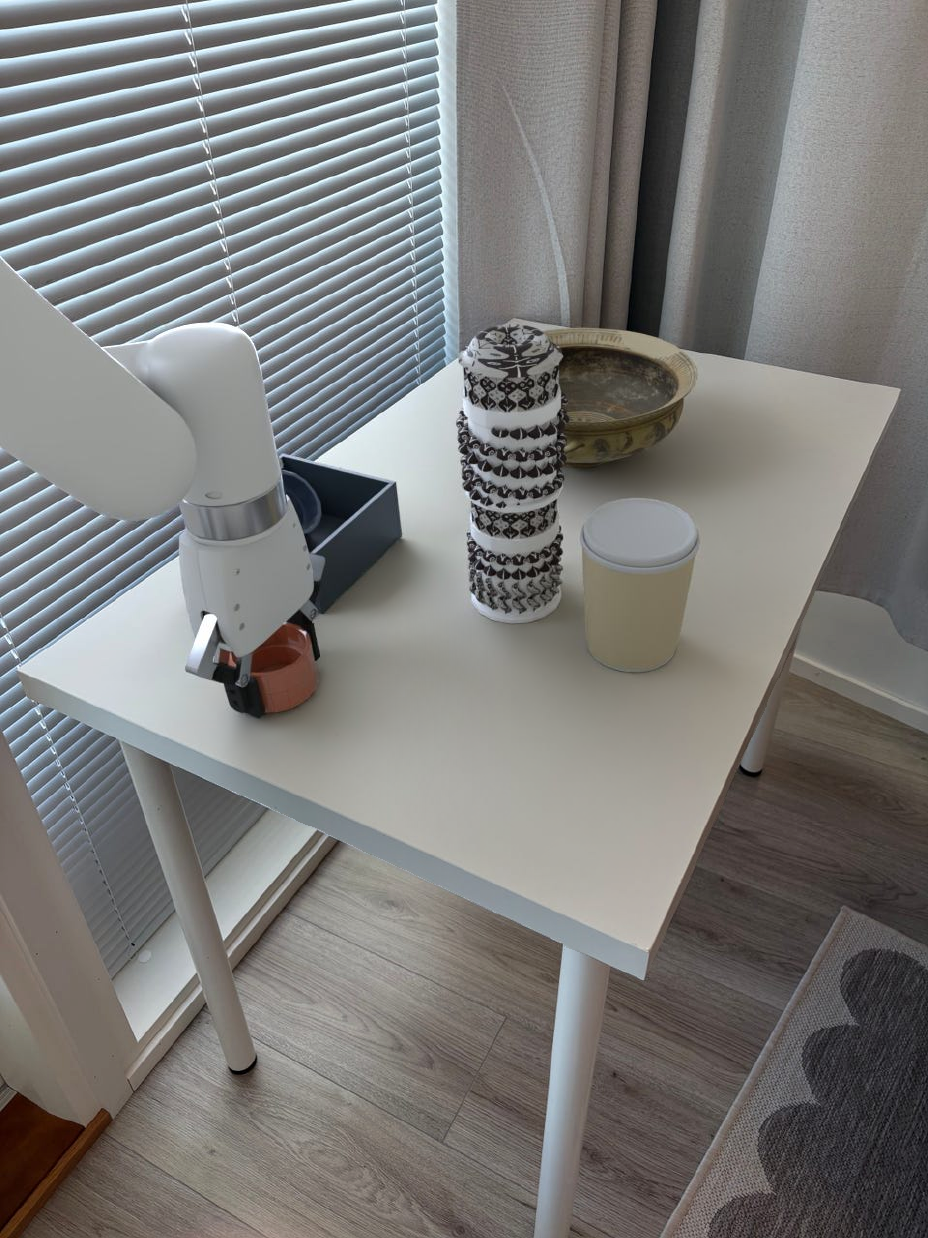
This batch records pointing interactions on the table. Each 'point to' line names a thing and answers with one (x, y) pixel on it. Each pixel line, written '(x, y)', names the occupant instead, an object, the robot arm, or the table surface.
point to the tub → (347, 523)
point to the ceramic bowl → (618, 391)
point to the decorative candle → (513, 471)
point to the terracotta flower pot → (284, 668)
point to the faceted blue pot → (302, 501)
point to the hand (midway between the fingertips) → (276, 681)
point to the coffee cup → (636, 581)
